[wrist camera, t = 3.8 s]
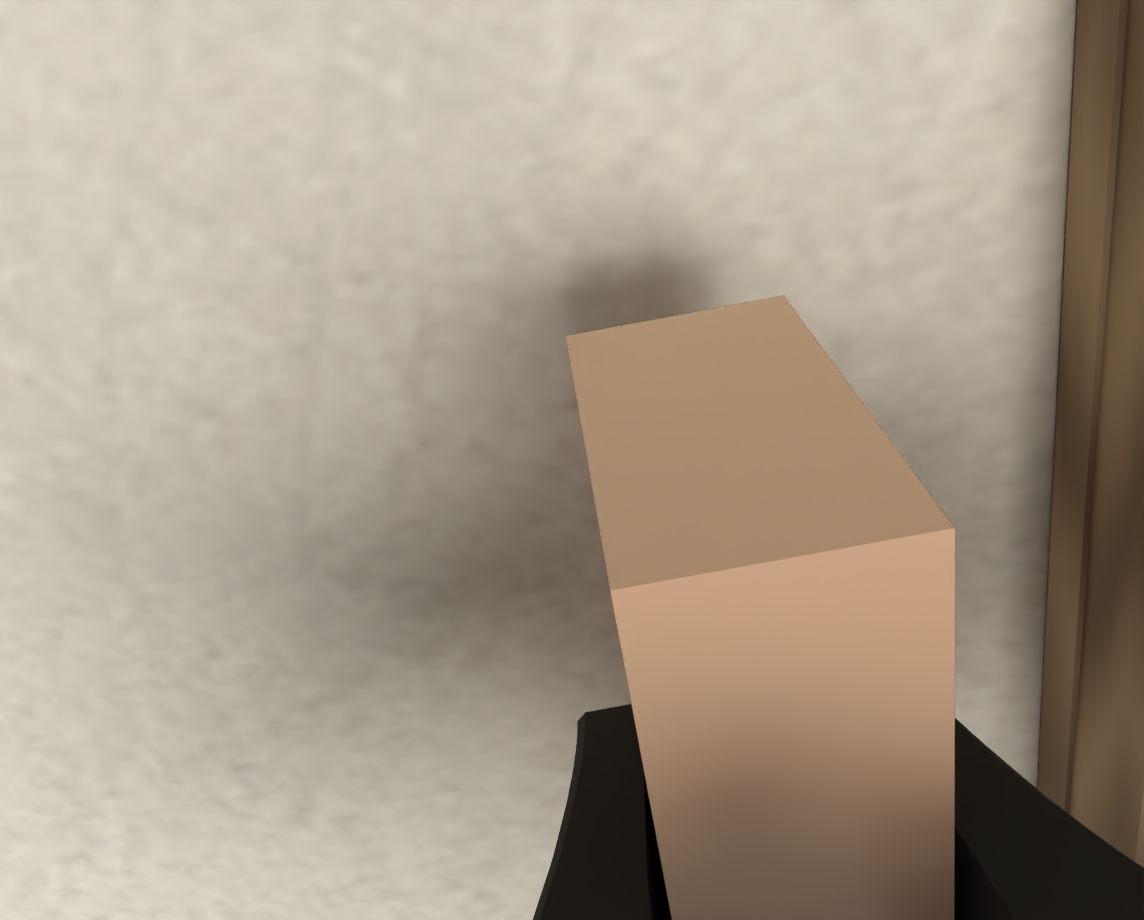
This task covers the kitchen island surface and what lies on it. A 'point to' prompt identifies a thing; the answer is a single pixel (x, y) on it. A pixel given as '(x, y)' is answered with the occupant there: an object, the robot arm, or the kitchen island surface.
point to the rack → (1100, 448)
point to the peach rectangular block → (774, 620)
